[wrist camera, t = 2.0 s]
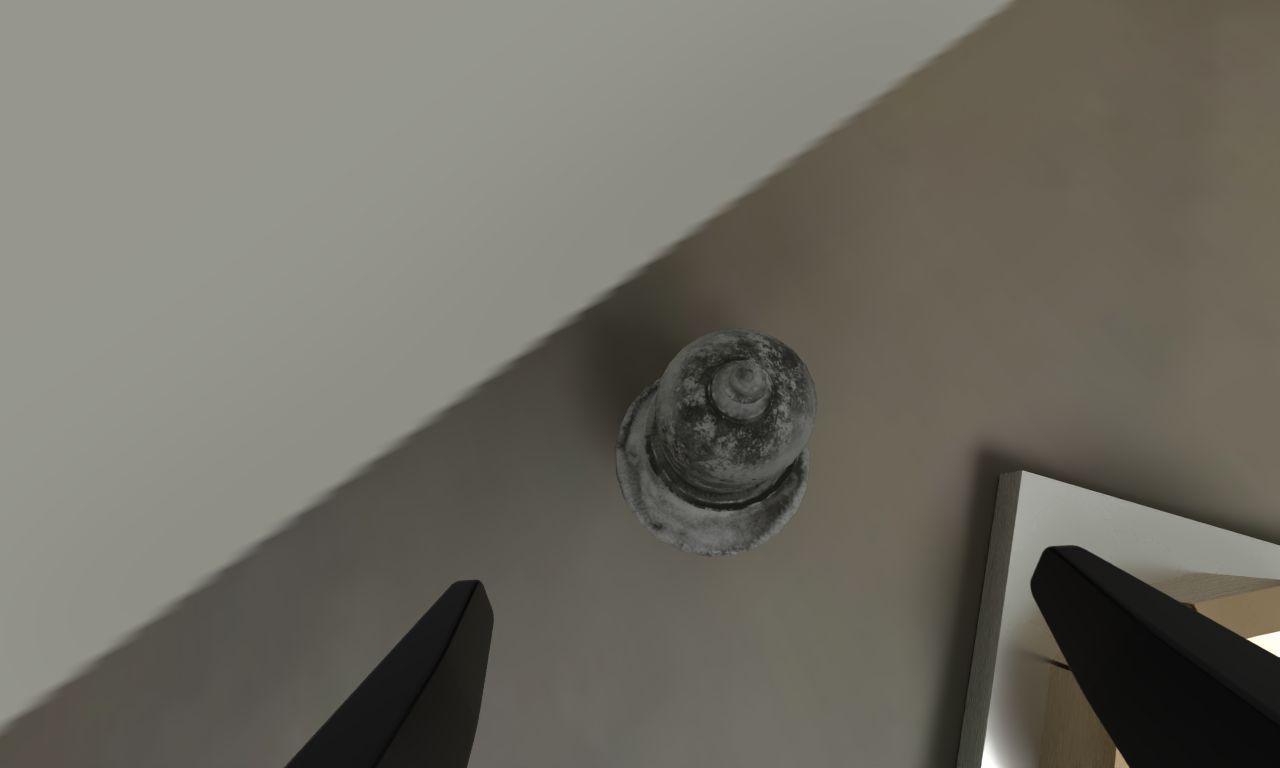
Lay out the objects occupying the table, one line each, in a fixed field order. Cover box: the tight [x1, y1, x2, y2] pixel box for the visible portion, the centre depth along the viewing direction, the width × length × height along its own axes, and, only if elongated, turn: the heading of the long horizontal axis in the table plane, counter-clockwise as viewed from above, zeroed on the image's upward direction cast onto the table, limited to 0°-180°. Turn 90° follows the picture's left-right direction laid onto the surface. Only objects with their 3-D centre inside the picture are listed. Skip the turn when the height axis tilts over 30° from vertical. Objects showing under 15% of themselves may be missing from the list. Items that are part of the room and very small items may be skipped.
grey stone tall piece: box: [615, 328, 817, 557], centre depth 13 cm, size 6×6×12 cm
